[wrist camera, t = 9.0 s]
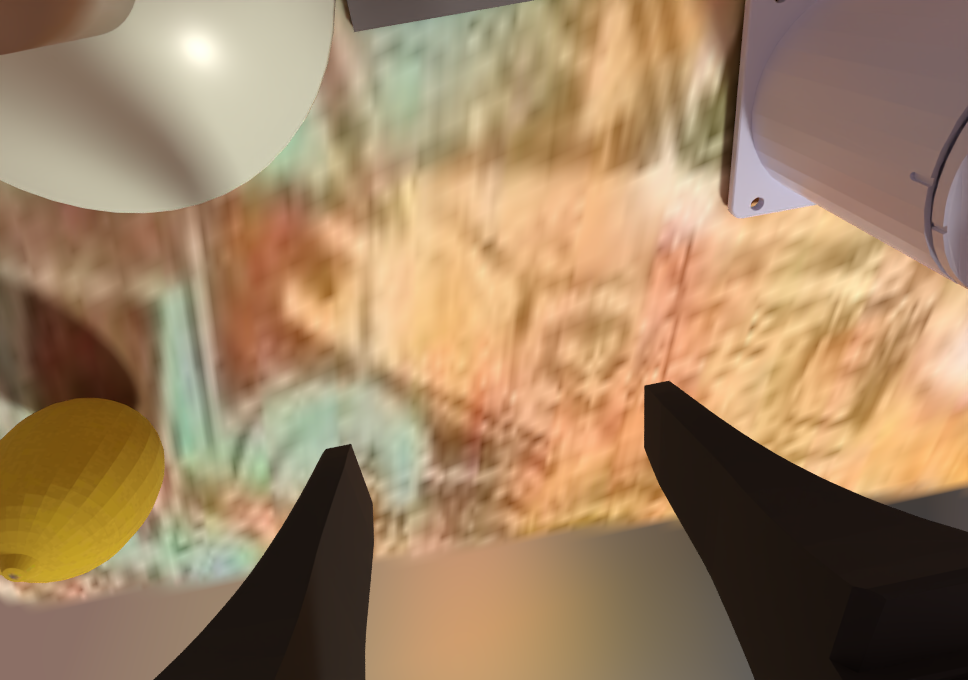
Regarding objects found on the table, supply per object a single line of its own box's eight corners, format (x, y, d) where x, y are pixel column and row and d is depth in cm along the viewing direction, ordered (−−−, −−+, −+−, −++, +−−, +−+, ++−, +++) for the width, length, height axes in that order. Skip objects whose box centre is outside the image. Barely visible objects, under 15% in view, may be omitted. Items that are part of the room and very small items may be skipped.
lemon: (17, 376, 23) (-142, 539, 17) (152, 346, 23) (48, 498, 17) (92, 472, 26) (-16, 644, 20) (212, 446, 26) (145, 609, 20)
